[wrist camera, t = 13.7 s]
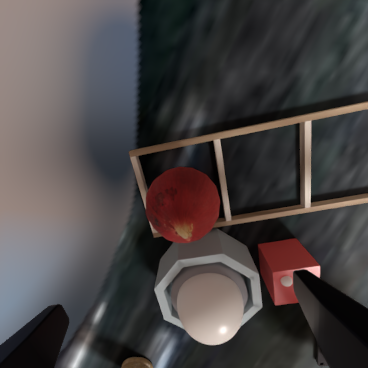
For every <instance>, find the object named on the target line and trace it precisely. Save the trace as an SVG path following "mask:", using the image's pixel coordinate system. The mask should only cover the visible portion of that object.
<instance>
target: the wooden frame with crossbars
mask: <svg viewBox="0 0 368 368" xmlns="http://www.w3.org/2000/svg"><path fill="white" fill-rule="evenodd" d="M365 109H368V101H367V102H362V103H357V104H352V105H347V106H342V107H338V108H333V109H328V110H323V111H318V112H313V113H309V114H304V115H299V116H294V117H289V118H284V119H280V120H275V121H270V122H265V123H260V124H255V125H251V126H246V127H241V128H236V129H231V130H226V131H222V132H217V133H212V134H207V135H202V136H197V137H193V138H188V139H183V140H178V141H173V142H168V143H164V144H159V145H154V146H149V147H144V148H139V149H135V150H131V151H129V155H130V158H131V162H132V165H133V169H134V172H135V175H136V179H137V182H138V185H139V189H140V192H141V195H142V199H143V202H144V205H145V209H146V194H147V192H148V189H147V185H146V182H145V178H144V175H143V171H142V168H141V164H140V161H139V157H138V156H139V155H144V154H149V153H154V152H158V151H163V150H168V149H173V148H178V147H183V146H188V145H193V144H198V143H203V142H208V141H212V140H213V143H214V149H215V156H216V162H217V169H218V175H219V182H220V188H221V195H222V201H223V208H224V214H225V217H224V218H218V219H217V220H216V222H215V224H214V226H213V228H216V227H222V226H228V225H234V224H240V223H246V222H252V221H258V220H264V219H270V218H276V217H282V216H288V215H295V214H301V213H307V212H313V211H319V210H325V209H331V208H337V207H343V206H349V205H355V204H361V203H367V202H368V193H366V194H360V195H354V196H348V197H342V198H336V199H330V200H324V201H319V202H313V203H311V120H315V119H320V118H325V117H330V116H335V115H340V114H345V113H350V112H355V111H360V110H365ZM296 123H300V203H301V205H295V206H289V207H283V208H277V209H271V210H265V211H259V212H253V213H247V214H241V215H235V216H231V213H230V206H229V199H228V192H227V185H226V178H225V171H224V164H223V157H222V150H221V143H220V139H222V138H227V137H232V136H237V135H242V134H247V133H252V132H257V131H262V130H266V129H271V128H276V127H281V126H286V125H291V124H296ZM149 222H150V221H149ZM150 226H151V229H152V232H153V236H154V238H155V237H161V236H162V235H161V234H160V233H159V232H157V231H156V230H155V229H154V228H153V226H152V225H151V223H150Z"/></svg>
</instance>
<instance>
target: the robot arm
mask: <svg viewBox="0 0 368 368" xmlns="http://www.w3.org/2000/svg"><path fill="white" fill-rule="evenodd" d="M293 289H294V293H295V295H296V297H297V300H298V302H299V304H300V306H301V308H302V310H303V313H304V315H305V317H306V319H307V321H308V323H309V325H310V328H311V330H312V332H313V334H314V336H315V338H316V340H317V349H316V362H317V364H318V365H319V366H329V367H330V368H368V308H366V307H364V306H363V305H361V304H360V303H358V302H357V301H355V300H353V299H352V298H350V297H349V296H347V295H346V294H344V293H342V292H341V291H339V290H338V289H336V288H335V287H333V286H331V285H330V284H328V283H327V282H325V281H324V280H322V279H320V278H319V277H317V276H316V275H314V274H313V273H311V272H309V271H308V270H305V269H302V270H295V271H294V272H293ZM68 325H69V317H68V316H67V314H66V312H65V310H64V308H63V307H62V305H60V304H57V305H51V306H48V307H47V308H46V309H44V310H43V311H42V312H41V313H40V314H38V315H37V316H36V317H35V318H33V319H32V320H31V321H30V322H28V323H27V324H26V325H25V326H23V327H22V328H21V329H20V330H19V331H17V332H16V333H15V334H14V335H13V336H11V337H10V338H9V339H8V340H6V341H5V342H4V343H2V344H1V345H0V368H54V366H55V363H56V361H57V358H58V355H59V352H60V349H61V346H62V343H63V340H64V337H65V334H66V331H67V328H68Z"/></svg>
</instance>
